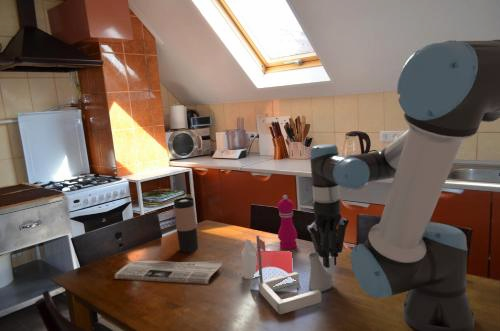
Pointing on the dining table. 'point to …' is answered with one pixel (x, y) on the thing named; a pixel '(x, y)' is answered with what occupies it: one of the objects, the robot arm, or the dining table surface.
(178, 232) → the travel mug
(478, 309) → the dining table surface
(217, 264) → the newspaper
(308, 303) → the white u-shaped stand
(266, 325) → the dining table surface
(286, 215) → the pepper mill
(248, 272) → the grey piece
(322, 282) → the flask
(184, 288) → the dining table surface
